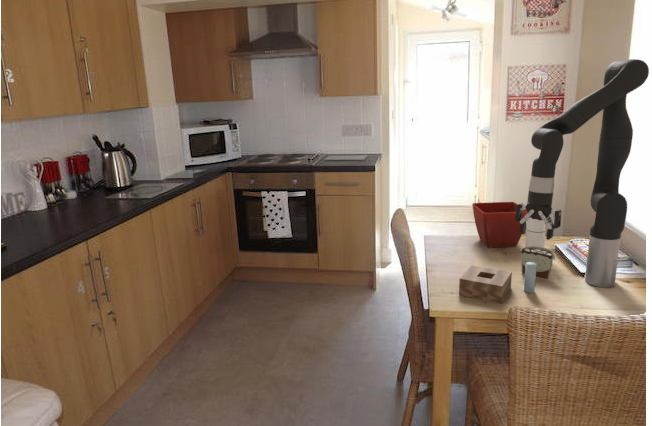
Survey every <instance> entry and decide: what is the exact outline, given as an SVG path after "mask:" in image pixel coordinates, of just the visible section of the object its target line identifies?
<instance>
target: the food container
mask: <svg viewBox="0 0 652 426" xmlns="http://www.w3.org/2000/svg"><path fill="white" fill-rule="evenodd" d="M519 254H520V256H521V257H520V259H521V274H522V275H524V276H525V266H526V263H527V262H533V263H536V264H537V266H536V279H541V280H545V281H549V279H550V274H551V270H552V266H553V261H555V260H556V257H555V253H554V251H553V250H551V249H549V248H546V247H544V248H542V247H525V246H524V247H522V248H521V249H520V250H519Z"/></svg>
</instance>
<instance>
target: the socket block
mask: <svg viewBox="0 0 652 426" xmlns="http://www.w3.org/2000/svg"><path fill="white" fill-rule="evenodd" d="M512 274H513V272H512V271H510V270H501V269H498V268H497V269H495V268H490V267H483V266H477V265H470V266H469V267H468V268H467V270H466V271H464V273H463V274H462V275H461V277H460V278H459V283H458V284H459V285H458V295H459V296H462V297H463V296H464V297H468V298H472V299H473V298H474V299H477V300H478V299H479V300H484V301H488V302H492V303H493V302H494V303H498V304H502V303H503V302H504V300H505V298H506V296H507V294H508V293H509V292H510V291H511V288H512V278H513V275H512Z"/></svg>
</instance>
